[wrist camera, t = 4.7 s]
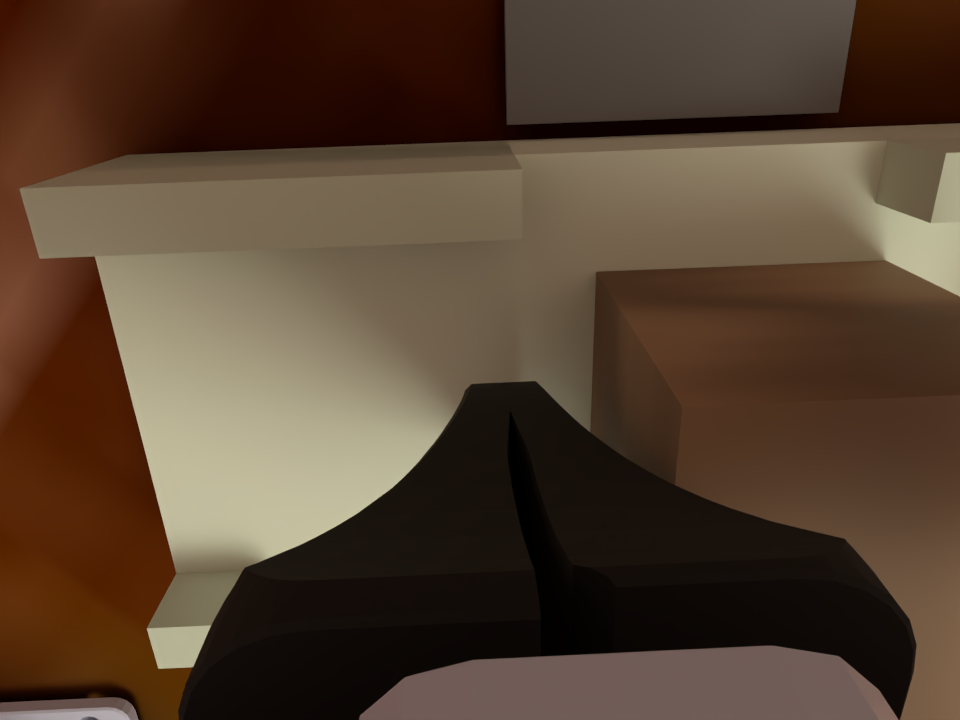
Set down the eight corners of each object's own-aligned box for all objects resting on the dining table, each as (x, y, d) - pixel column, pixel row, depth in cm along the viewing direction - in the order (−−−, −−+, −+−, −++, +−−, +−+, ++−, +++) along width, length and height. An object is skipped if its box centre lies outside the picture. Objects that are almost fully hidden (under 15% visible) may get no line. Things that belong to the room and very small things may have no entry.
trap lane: (215, 549, 17) (119, 749, 12) (127, 154, 13) (-63, 214, 8) (932, 517, 17) (1119, 701, 12) (1039, 120, 13) (1365, 159, 8)
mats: (317, 642, 18) (314, 651, 18) (205, -36, 12) (199, -37, 12) (750, 621, 18) (754, 630, 18) (856, -57, 12) (866, -60, 12)
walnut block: (587, 514, 14) (650, 736, 10) (595, 272, 12) (681, 406, 8) (835, 502, 14) (1017, 719, 10) (885, 260, 12) (1145, 387, 8)
